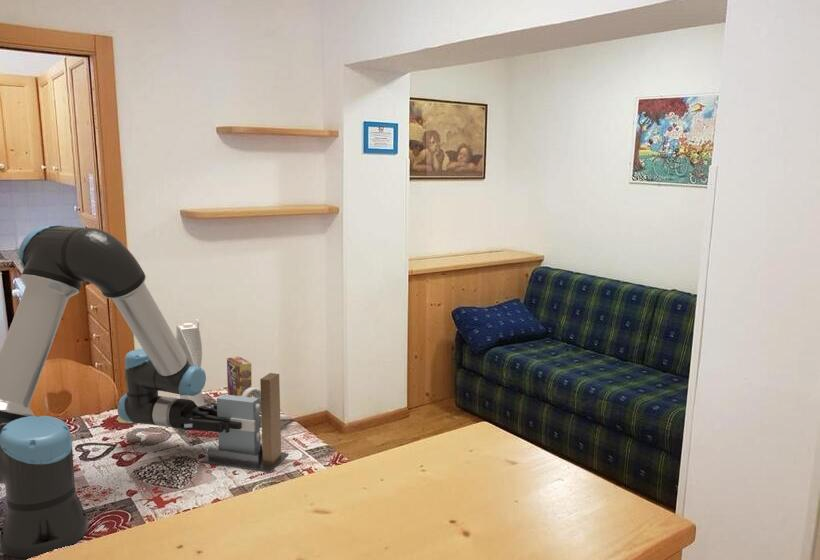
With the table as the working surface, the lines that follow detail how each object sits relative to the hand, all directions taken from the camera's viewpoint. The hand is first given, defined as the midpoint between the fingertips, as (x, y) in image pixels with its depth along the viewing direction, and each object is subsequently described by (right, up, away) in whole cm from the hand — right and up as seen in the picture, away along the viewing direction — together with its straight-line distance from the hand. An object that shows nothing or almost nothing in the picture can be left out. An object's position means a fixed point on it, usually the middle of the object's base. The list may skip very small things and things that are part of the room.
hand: (258, 423), depth 160 cm
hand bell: (-43, -5, +27) cm, 51 cm away
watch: (-7, -6, +24) cm, 26 cm away
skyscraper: (-28, -3, +36) cm, 46 cm away
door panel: (-5, -8, +3) cm, 10 cm away
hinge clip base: (-4, -9, +3) cm, 11 cm away
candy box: (-14, -4, +36) cm, 39 cm away
